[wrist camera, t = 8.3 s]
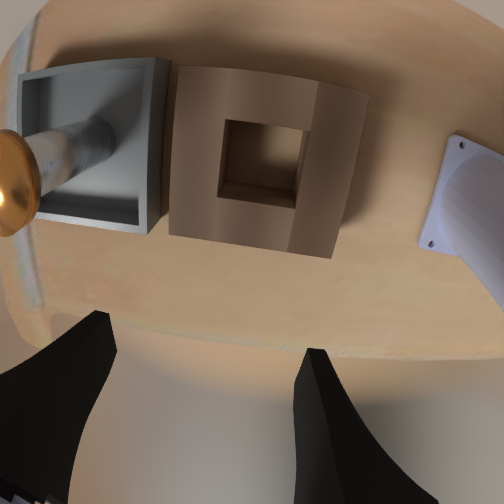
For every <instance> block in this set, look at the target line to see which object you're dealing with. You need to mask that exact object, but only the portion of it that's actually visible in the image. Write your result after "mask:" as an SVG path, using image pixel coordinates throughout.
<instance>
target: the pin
mask: <svg viewBox="0 0 504 504" xmlns="http://www.w3.org/2000/svg"><path fill="white" fill-rule="evenodd" d="M115 143H116V138H115V133H114V130H113V128H112V127H111V125H110V124H109V123H108V122H107V121H105V120H104V119H101V118H91V119H87V120H83V121H79V122H75V123H72V124H68V125H64V126H61V127H57V128H54V129H50V130H47V131H44V132H41V133H38V134H34V135H31V136H28V137H25V138H23V137H22V136H20V135H19V134H18V133H16V132H14V131H12V130H8V129H3V130H0V236H2V237H8V236H11V235H13V234H15V233H16V232H17V231H19V230H20V229H21V228H23V227H24V226H25V225H27V224H28V223H29V222H31V221H32V220H33V218H34V217H35V215H36V213H37V211H38V208H39V205H40V200H41V197H42V196H43V195H45V194H47V193H48V192H50V191H52V190H53V189H55V188H57V187H59V186H60V185H62V184H64V183H65V182H67V181H69V180H71V179H73V178H74V177H76V176H78V175H80V174H82V173H84V172H85V171H87V170H89V169H91V168H93V167H95V166H97V165H99V164H101V163H103V162H105V161H106V160H108V159H109V158H110V156H111V155H112V153H113V151H114V149H115Z"/></svg>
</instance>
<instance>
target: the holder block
mask: <svg viewBox="0 0 504 504" xmlns="http://www.w3.org/2000/svg"><path fill="white" fill-rule="evenodd" d="M369 96H370V93H366V92H362V91H359V90H355V89H351V88H347V87H343V86H338V85H334V84H329V83H325V82H320V81H315V80H310V79H305V78H299V77H294V76H288V75H281V74H275V73H268V72H260V71H252V70H242V69H232V68H220V67H204V66H179V73H178V82H177V92H176V102H175V112H174V124H173V137H172V153H171V171H170V195H169V235H176V236H183V237H189V238H196V239H203V240H209V241H216V242H223V243H229V244H236V245H243V246H249V247H256V248H263V249H269V250H276V251H282V252H289V253H295V254H302V255H309V256H315V257H322V258H328V259H331V257H332V254H333V250H334V247H335V243H336V240H337V236H338V232H339V229H340V225H341V221H342V218H343V214H344V210H345V206H346V202H347V198H348V194H349V190H350V186H351V182H352V177H353V173H354V169H355V165H356V160H357V156H358V151H359V146H360V142H361V137H362V132H363V127H364V122H365V117H366V112H367V107H368V101H369ZM233 120H238V121H247V122H254V123H261V124H268V125H275V126H281V127H287V128H293V129H299V130H304V131H303V136H302V142H301V148H300V153H299V159H298V164H297V170H296V175H295V181H294V186H293V191H289V190H283V189H277V188H270V187H264V186H257V185H250V184H243V183H236V182H229V181H226V173H227V164H228V156H229V147H230V139H231V130H232V122H233Z"/></svg>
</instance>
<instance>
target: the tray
mask: <svg viewBox="0 0 504 504" xmlns="http://www.w3.org/2000/svg"><path fill="white" fill-rule="evenodd" d="M170 64H171V61H169V60H165V59H161V58H157V57H142V58H124V59H111V60H101V61H92V62H84V63H76V64H70V65H63V66H57V67H52V68H46V69H41V70H37V71H32V72H27V73H23V74H19V75H18V86H17V133H18V134H19V135H20V136H22V137H23V138H25V137H28V136H31V135H34V134H38V133H41V132H44V131H47V130H50V129H54V128H57V127H61V126H64V125H68V124H72V123H75V122H79V121H83V120H87V119H91V118H101V119H104V120H105V121H107V122H108V123H109V124H110V125H111V127H112V128H113V130H114V133H115V138H116V143H115V149H114V151H113V153H112V155H111V156H110V158H109V159H108V160H106V161H105V162H103V163H101V164H99V165H97V166H95V167H93V168H91V169H89V170H87V171H85V172H84V173H82V174H80V175H78V176H76V177H74V178H73V179H71V180H69V181H67V182H65V183H64V184H62V185H60V186H59V187H57V188H55V189H53V190H52V191H50V192H48V193H47V194H45V195H43V196H42V197H41V200H40V205H39V208H38V211H37V213H36V215H35V217H34V218H38V219H44V220H51V221H58V222H65V223H71V224H78V225H85V226H91V227H98V228H105V229H112V230H118V231H125V232H132V233H138V234H145V235H147V234H148V233H149V232H150V231H151V229H152V228H153V227H154V226H155V225H156V223H157V222H158V221H159V220H160V219H161V186H162V160H163V141H164V126H165V113H166V102H167V91H168V82H169V73H170Z"/></svg>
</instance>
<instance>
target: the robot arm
mask: <svg viewBox="0 0 504 504" xmlns="http://www.w3.org/2000/svg"><path fill="white" fill-rule="evenodd" d="M461 141H462V143H463V145H462V147H461V148H460V146H459V144H460V142H461ZM430 241H433V242H432V244H430V245H428V244H429V242H430ZM418 245H419V246H420V247H421V248H422V249H425V250H430V251H435V252H440V253H445V254H450V255H454V256H459V257H461V259H462V260H463V261H464V262H465V263H466V264H467V266H468V267H469V268H470V269H471V270H472V272H473V273H474V274H475V275H476V276H477V278H478V279H479V280H480V281H481V283H482V284H483V285H484V286H485V288H486V289H487V290H488V291H489V293H490V294H491V295H492V297H493V298H494V299H495V301H496V302H497V303H498V305H499V306H500V307H501V309H502V310H503V311H504V156H502V155H500V154H498V153H496V152H494V151H492V150H490V149H488V148H486V147H484V146H482V145H479V144H477V143H475V142H473V141H470V140H468V139H466V138H463V137H461V136H458V135H456V134H452V135H451V136H450V137H449V138H448V142H447V146H446V150H445V154H444V158H443V162H442V166H441V169H440V173H439V177H438V180H437V184H436V187H435V190H434V194H433V197H432V200H431V203H430V206H429V209H428V213H427V216H426V219H425V221H424V224H423V227H422V230H421V233H420V236H419V238H418ZM116 353H117V349H116V344H115V339H114V335H113V330H112V326H111V321H110V316H109V313H105V312H101V311H97V310H95V311H93V312H92V313H90V314H89V315H88V316H86V317H85V318H84V319H83V320H81V321H80V322H79V323H77V324H76V325H75V326H73V327H72V328H71V329H70V330H68V331H67V332H66V333H65V334H63V335H62V336H60V337H59V338H58V339H56V340H55V341H54V342H52V343H51V344H49V345H48V346H47V347H45V348H44V349H42V350H41V351H39V352H38V353H37V354H35V355H34V356H32V357H31V358H29V359H27V360H26V361H24V362H23V363H21V364H19V365H17V366H16V367H14V368H12V369H10V370H8V371H6V372H4V373H2V374H0V504H34V503H35V501H37V502H38V503H40V504H44V503H45V501H46V502H48V503H50V504H68V494H69V486H70V480H71V475H72V470H73V465H74V461H75V456H76V453H77V449H78V445H79V442H80V439H81V435H82V432H83V429H84V426H85V423H86V421H87V419H88V416H89V414H90V412H91V410H92V408H93V406H94V404H95V402H96V400H97V398H98V396H99V394H100V392H101V390H102V387H103V385H104V383H105V381H106V379H107V377H108V375H109V373H110V370H111V367H112V365H113V362H114V359H115V356H116ZM293 412H294V428H295V443H296V468H297V469H296V484H295V496H294V504H439V503H438V500H436V499H435V498H434V497H433V496H431V495H430V494H428V493H427V492H426V491H425V490H423V489H422V488H421V487H420V486H418V485H417V484H416V483H415V482H414V481H413V480H412V479H411V478H410V477H409V476H407V475H406V474H405V473H404V472H403V471H402V469H401V468H400V467H399V466H398V465H397V464H396V463H395V462H394V461H393V460H392V459H391V458H390V457H389V455H388V454H387V453H386V452H385V451H384V449H383V448H382V447H381V446H380V444H379V443H378V442H377V441H376V439H375V438H374V437H373V435H372V434H371V432H370V431H369V430H368V428H367V427H366V425H365V424H364V422H363V421H362V419H361V417H360V416H359V414H358V413H357V411H356V409H355V408H354V406H353V404H352V403H351V401H350V399H349V397H348V395H347V393H346V392H345V390H344V388H343V386H342V384H341V382H340V380H339V378H338V376H337V374H336V372H335V370H334V368H333V366H332V364H331V361H330V359H329V357H328V355H327V352H326V351H325V350H324V349H314V348H307V351H306V354H305V356H304V359H303V362H302V365H301V367H300V370H299V372H298V375H297V377H296V380H295V384H294V401H293Z"/></svg>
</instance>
